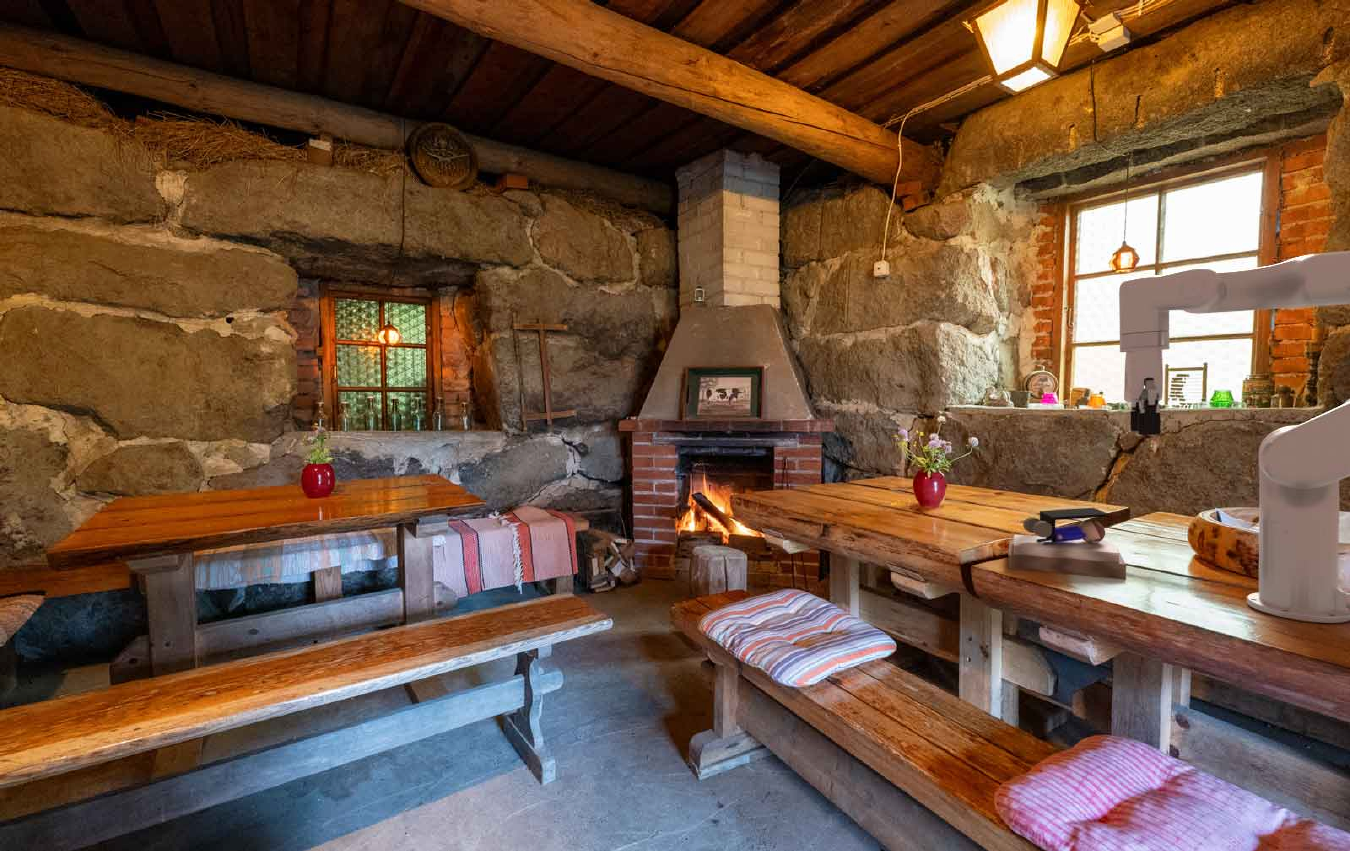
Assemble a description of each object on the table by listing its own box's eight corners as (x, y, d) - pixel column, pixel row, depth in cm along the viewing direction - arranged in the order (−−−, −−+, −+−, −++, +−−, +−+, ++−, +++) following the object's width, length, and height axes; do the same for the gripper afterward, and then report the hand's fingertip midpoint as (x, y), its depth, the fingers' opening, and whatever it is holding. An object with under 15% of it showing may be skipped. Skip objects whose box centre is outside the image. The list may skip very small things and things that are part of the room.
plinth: (1117, 562, 137) (1117, 540, 136) (1126, 578, 125) (1125, 554, 125) (1010, 553, 147) (1009, 533, 147) (1008, 568, 136) (1008, 546, 135)
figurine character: (1039, 553, 133) (1114, 545, 131) (1034, 519, 133) (1109, 509, 131) (1025, 546, 140) (1096, 537, 138) (1020, 513, 140) (1091, 504, 138)
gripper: (1114, 346, 126) (1115, 429, 127) (1126, 342, 111) (1127, 436, 112) (1160, 343, 123) (1161, 429, 123) (1179, 338, 108) (1179, 436, 108)
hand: (1144, 432), depth 118 cm, fingers open, 9 cm apart
